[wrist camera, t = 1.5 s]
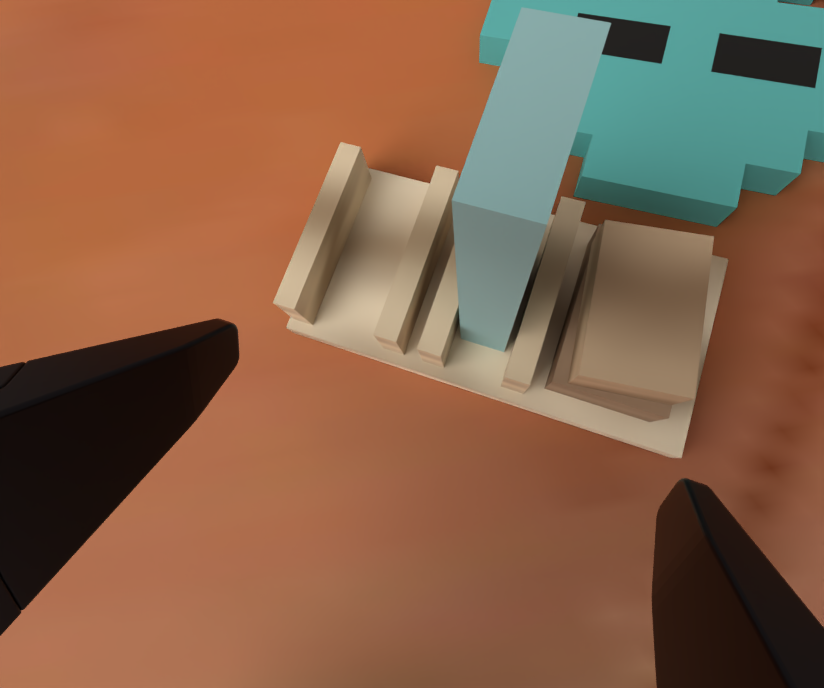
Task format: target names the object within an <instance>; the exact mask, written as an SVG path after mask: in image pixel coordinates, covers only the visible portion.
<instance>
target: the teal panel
mask: <svg viewBox="0 0 824 688" xmlns="http://www.w3.org/2000/svg"><path fill="white" fill-rule="evenodd" d="M610 25H611V23H609V22H604V21H598V20H592V19H586V18H581V17H575V16H569V15H563V14H558V13H552V12H546V11H541V10H535V9H529V8H523V7H522V8H521V10H520V13H519V16H518V19H517V21H516V24H515V27H514V30H513V32H512V35H511V38H510V41H509V43H508V46H507V49H506V52H505V55H504V57H503V60H502V63H501V66H500V68H499V71H498V74H497V77H496V79H495V82H494V85H493V88H492V90H491V93H490V96H489V99H488V101H487V104H486V107H485V110H484V112H483V115H482V118H481V121H480V123H479V126H478V129H477V132H476V134H475V137H474V140H473V143H472V145H471V148H470V151H469V154H468V157H467V159H466V162H465V165H464V168H463V170H462V173H461V176H460V179H459V181H458V184H457V187H456V190H455V192H454V195H453V198H452V213H453V228H454V243H455V258H456V273H457V288H458V303H459V319H460V334H461V339H463V340H466V341H469V342H473V343H476V344H479V345H482V346H486V347H489V348H492V349H495V350H498V351H502V352H504V351H505V348H506V345H507V342H508V339H509V336H510V333H511V330H512V327H513V324H514V321H515V318H516V315H517V312H518V309H519V306H520V303H521V300H522V298H523V295H524V292H525V289H526V286H527V283H528V280H529V277H530V274H531V271H532V268H533V265H534V262H535V259H536V256H537V253H538V250H539V247H540V244H541V241H542V238H543V235H544V232H545V229H546V227H547V223H548V220H549V217H550V214H551V211H552V208H553V205H554V201H555V198H556V195H557V192H558V189H559V186H560V183H561V179H562V176H563V173H564V170H565V167H566V164H567V161H568V157H569V154H570V151H571V148H572V145H573V142H574V139H575V135H576V132H577V129H578V126H579V123H580V120H581V117H582V113H583V110H584V107H585V104H586V101H587V98H588V95H589V91H590V88H591V85H592V82H593V79H594V76H595V73H596V69H597V66H598V63H599V60H600V57H601V54H602V51H603V47H604V44H605V41H606V38H607V35H608V32H609V29H610Z"/></svg>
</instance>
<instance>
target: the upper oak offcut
mask: <svg viewBox="0 0 824 688" xmlns="http://www.w3.org/2000/svg"><path fill="white" fill-rule="evenodd" d="M713 241H714V236H708V235H701V234H695V233H688V232H682V231H675V230H669V229H662V228H656V227H649V226H643V225H636V224H630V223H623V222H617V221H610V220H605V221H604V223H603V224H602V226H601V228H600V229H599V231H598V233H597V235H596V236H595V238H594V240H593V242H592V244H591V250H590V256H589V262H588V268H587V273H586V279H585V285H584V291H583V297H582V302H581V308H580V314H579V320H578V326H577V331H576V337H575V343H574V349H573V355H572V360H571V366H570V372H569V378H568V384H572V385H577V386H582V387H586V388H591V389H596V390H601V391H605V392H610V393H615V394H620V395H624V396H629V397H634V398H639V399H643V400H648V401H653V402H658V403H662V404H667V405H674V404H677V403H681V402H685V401H689V400H693V399H695V395H696V386H697V378H698V369H699V361H700V352H701V344H702V335H703V326H704V318H705V309H706V301H707V292H708V284H709V275H710V267H711V258H712V250H713Z"/></svg>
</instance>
